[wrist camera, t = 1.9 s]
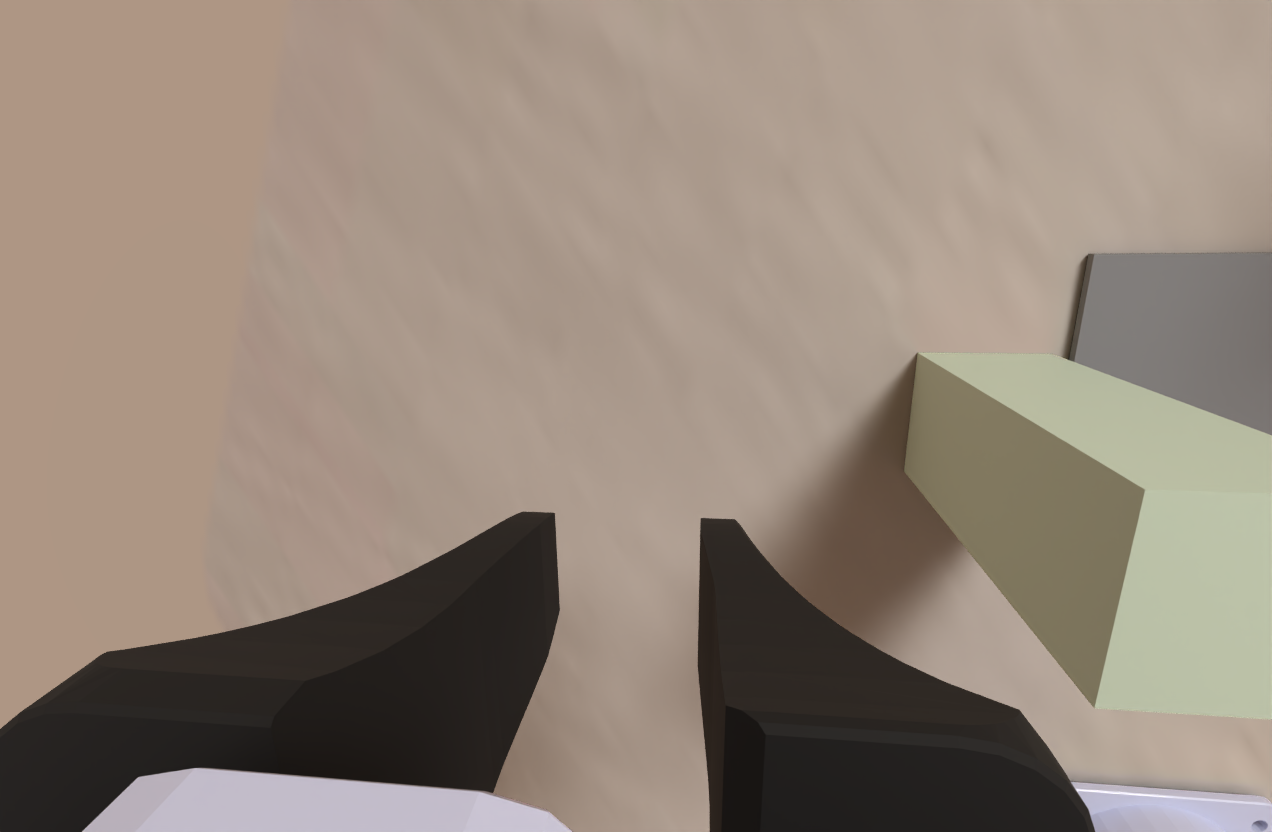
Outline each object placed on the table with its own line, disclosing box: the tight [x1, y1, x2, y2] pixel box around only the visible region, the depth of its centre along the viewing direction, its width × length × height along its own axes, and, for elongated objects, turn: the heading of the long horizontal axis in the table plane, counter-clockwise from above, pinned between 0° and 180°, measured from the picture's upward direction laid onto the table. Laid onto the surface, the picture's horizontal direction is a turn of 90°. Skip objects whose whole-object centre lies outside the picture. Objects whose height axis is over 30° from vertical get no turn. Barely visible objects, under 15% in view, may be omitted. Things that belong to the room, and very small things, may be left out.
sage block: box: [904, 353, 1272, 720], centre depth 15 cm, size 4×4×11 cm
